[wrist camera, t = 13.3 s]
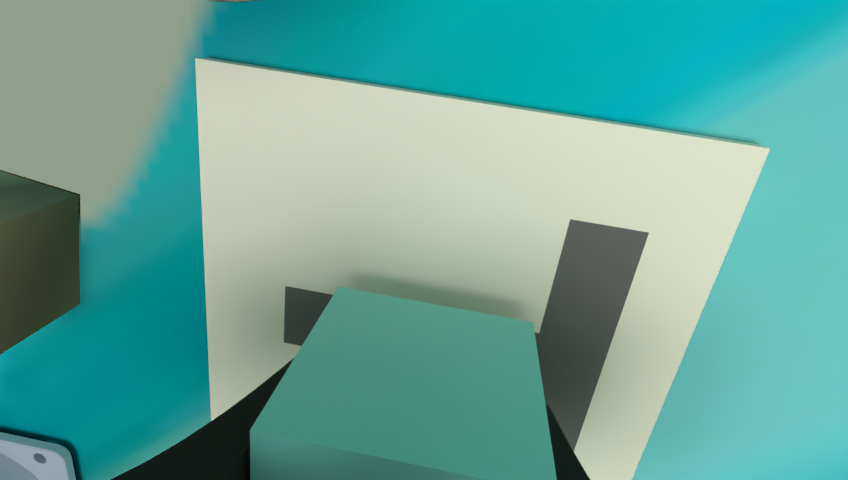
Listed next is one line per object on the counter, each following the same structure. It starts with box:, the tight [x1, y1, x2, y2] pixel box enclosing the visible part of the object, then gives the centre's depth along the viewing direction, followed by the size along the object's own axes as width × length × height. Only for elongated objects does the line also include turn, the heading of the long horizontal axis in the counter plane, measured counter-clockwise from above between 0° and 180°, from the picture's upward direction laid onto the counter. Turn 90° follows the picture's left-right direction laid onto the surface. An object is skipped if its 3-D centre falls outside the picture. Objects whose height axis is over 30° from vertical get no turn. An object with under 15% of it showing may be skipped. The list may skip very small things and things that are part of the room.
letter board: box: [195, 58, 770, 480], centre depth 15 cm, size 14×14×1 cm
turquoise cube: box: [250, 287, 557, 480], centre depth 11 cm, size 5×5×5 cm
